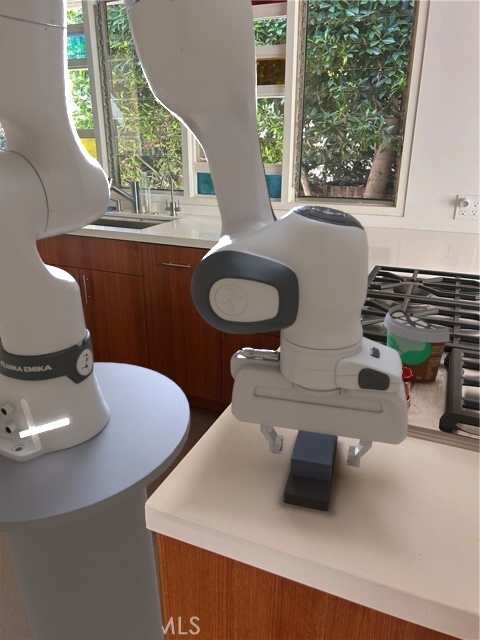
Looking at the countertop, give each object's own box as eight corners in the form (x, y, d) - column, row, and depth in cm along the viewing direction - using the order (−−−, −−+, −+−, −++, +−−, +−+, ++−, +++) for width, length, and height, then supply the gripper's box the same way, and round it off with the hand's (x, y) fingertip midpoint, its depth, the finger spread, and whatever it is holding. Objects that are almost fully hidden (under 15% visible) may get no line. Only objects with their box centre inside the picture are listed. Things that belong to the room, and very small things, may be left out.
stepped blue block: (328, 511, 51) (330, 483, 49) (283, 502, 52) (284, 475, 51) (337, 444, 62) (339, 420, 60) (299, 438, 63) (300, 415, 61)
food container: (364, 360, 84) (369, 308, 80) (392, 354, 86) (399, 303, 82) (411, 393, 73) (419, 335, 69) (441, 385, 75) (451, 329, 71)
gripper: (222, 358, 51) (225, 459, 57) (417, 381, 46) (401, 489, 51) (237, 335, 57) (239, 429, 62) (413, 353, 52) (399, 453, 57)
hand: (314, 456), depth 57 cm, fingers open, 8 cm apart
